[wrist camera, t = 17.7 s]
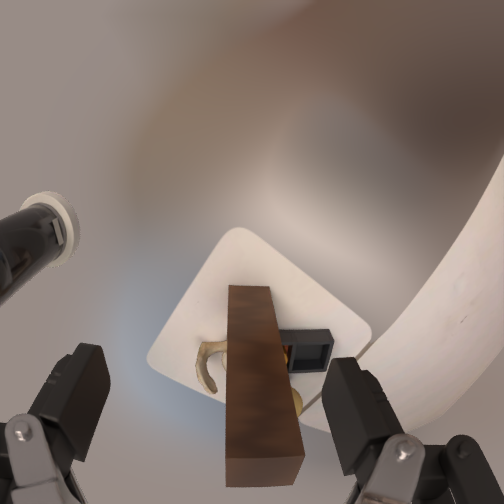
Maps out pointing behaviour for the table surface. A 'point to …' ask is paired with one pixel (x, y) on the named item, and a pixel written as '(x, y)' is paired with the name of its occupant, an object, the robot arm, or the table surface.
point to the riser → (258, 396)
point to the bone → (202, 357)
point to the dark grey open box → (307, 349)
